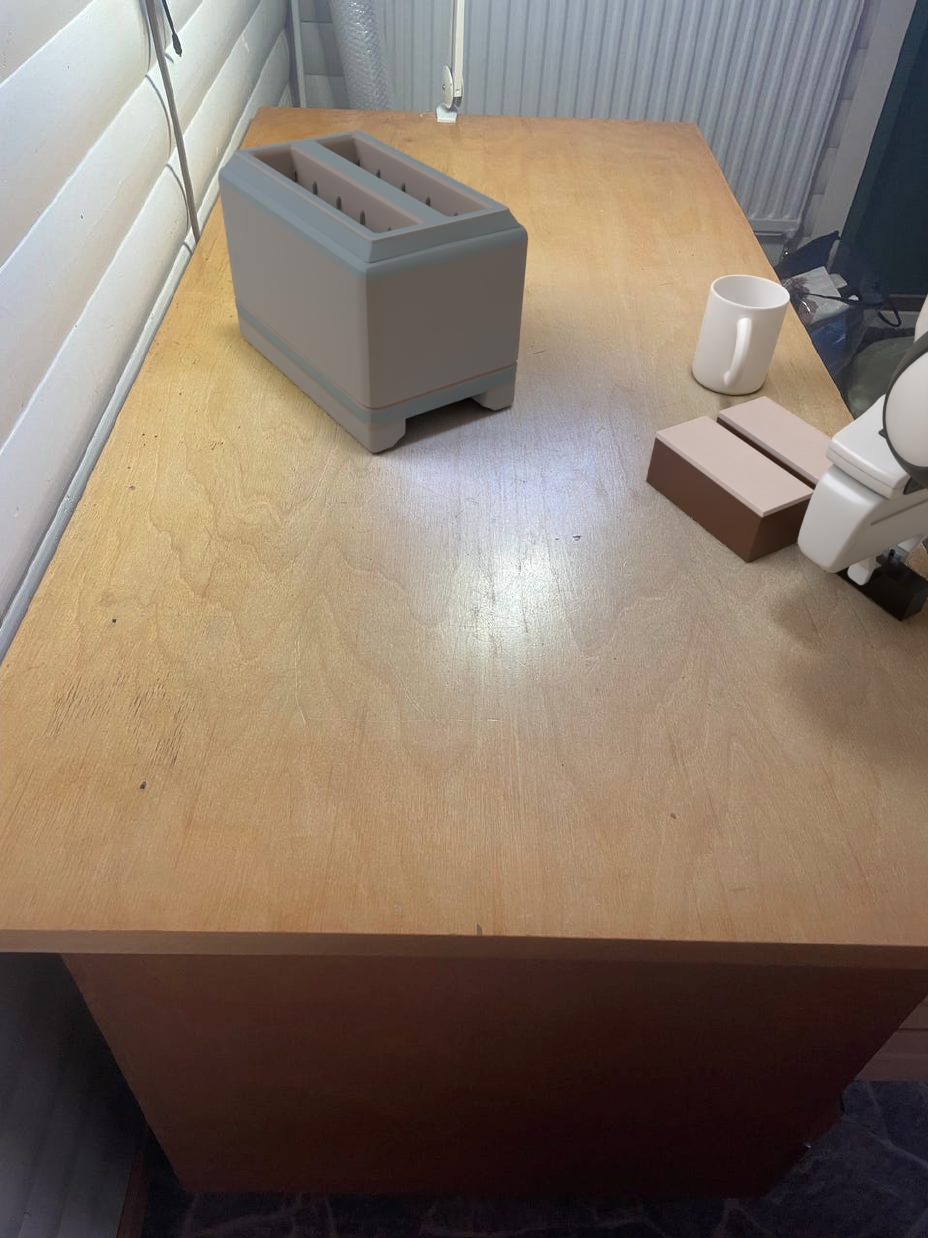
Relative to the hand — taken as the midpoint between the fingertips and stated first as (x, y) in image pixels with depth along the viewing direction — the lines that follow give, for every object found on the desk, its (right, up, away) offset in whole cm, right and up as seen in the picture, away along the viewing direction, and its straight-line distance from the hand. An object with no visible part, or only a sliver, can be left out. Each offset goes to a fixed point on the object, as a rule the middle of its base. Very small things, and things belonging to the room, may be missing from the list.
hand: (875, 571), depth 77 cm
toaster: (-46, +25, +26) cm, 59 cm away
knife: (-3, +3, +5) cm, 7 cm away
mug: (-5, +22, +26) cm, 34 cm away
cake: (-8, +7, +10) cm, 15 cm away
